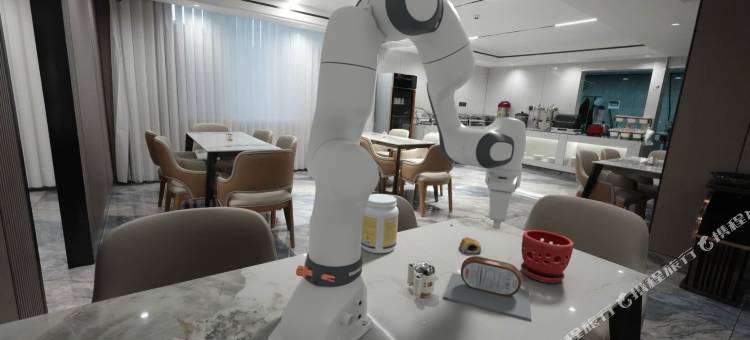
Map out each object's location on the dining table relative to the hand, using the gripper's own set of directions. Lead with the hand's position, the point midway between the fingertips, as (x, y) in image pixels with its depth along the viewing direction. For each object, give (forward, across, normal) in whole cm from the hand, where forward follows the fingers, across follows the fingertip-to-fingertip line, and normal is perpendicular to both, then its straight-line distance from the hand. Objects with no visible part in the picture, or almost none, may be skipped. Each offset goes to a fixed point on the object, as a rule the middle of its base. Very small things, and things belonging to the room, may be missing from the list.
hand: (496, 227), depth 94 cm
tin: (+15, +9, 0) cm, 17 cm away
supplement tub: (+15, -4, -36) cm, 39 cm away
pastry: (+15, -19, -8) cm, 26 cm away
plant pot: (+15, -10, +14) cm, 23 cm away
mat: (+15, +10, 0) cm, 18 cm away
